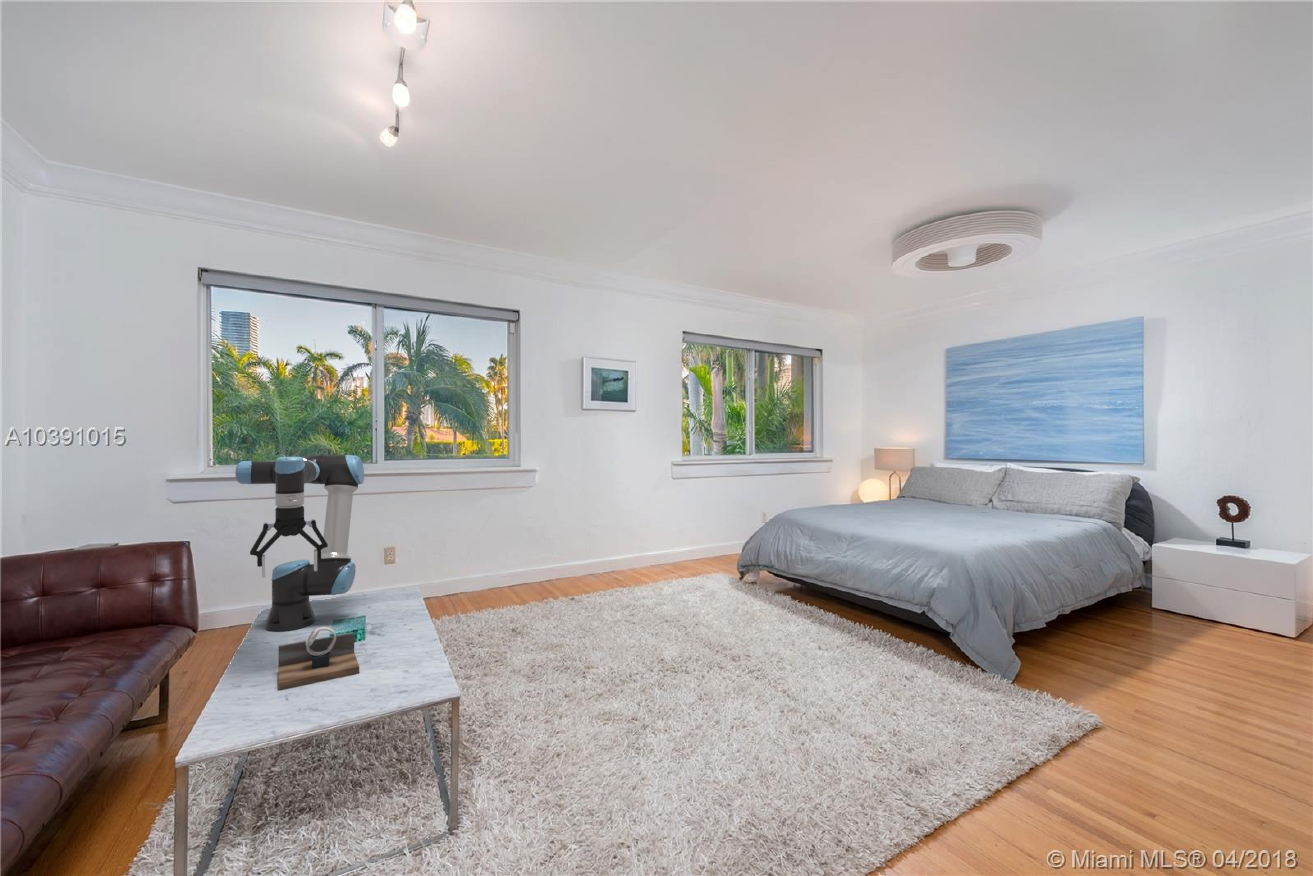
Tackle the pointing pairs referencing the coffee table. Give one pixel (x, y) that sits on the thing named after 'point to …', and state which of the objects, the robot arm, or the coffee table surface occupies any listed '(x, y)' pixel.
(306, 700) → the coffee table surface
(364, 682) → the coffee table surface
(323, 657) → the watch
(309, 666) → the display stand
